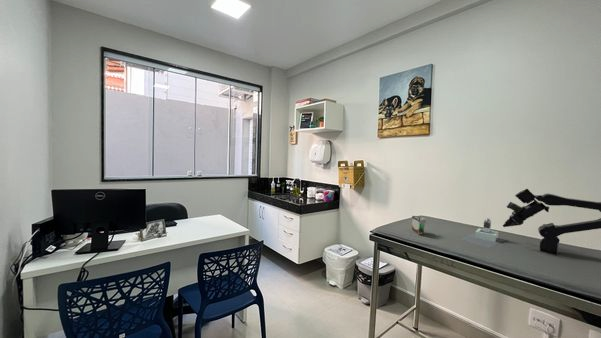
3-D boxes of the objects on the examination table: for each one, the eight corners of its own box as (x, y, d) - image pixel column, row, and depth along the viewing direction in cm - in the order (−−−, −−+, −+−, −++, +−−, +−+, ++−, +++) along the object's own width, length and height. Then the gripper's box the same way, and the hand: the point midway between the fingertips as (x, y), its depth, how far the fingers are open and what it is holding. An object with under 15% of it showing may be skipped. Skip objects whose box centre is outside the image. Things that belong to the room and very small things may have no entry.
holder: (497, 238, 153) (498, 231, 153) (495, 242, 146) (495, 235, 146) (478, 234, 160) (478, 228, 160) (475, 237, 153) (475, 231, 153)
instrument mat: (505, 240, 151) (505, 239, 151) (488, 248, 137) (488, 247, 137) (476, 232, 164) (476, 232, 164) (457, 239, 150) (457, 239, 150)
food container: (429, 236, 156) (430, 220, 155) (419, 235, 156) (420, 220, 155) (420, 230, 168) (420, 215, 168) (411, 229, 168) (411, 215, 168)
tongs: (489, 237, 153) (491, 218, 153) (488, 239, 151) (490, 220, 150) (483, 236, 156) (485, 218, 155) (482, 238, 153) (484, 219, 152)
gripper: (519, 196, 149) (495, 211, 157) (516, 200, 135) (490, 216, 144) (536, 211, 143) (510, 226, 152) (535, 217, 130) (506, 232, 139)
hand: (504, 224), depth 147 cm, fingers open, 9 cm apart
